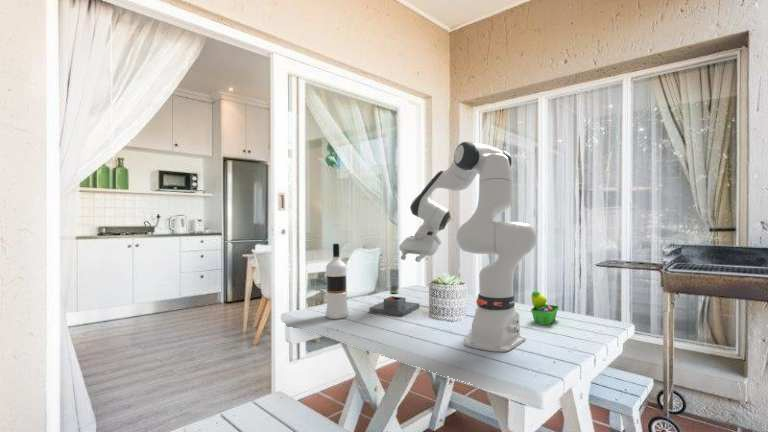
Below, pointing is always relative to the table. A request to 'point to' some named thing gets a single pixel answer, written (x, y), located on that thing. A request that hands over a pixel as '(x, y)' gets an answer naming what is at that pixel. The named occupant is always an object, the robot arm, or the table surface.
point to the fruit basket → (542, 309)
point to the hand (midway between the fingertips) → (409, 260)
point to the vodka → (336, 287)
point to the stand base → (394, 306)
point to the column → (394, 281)
